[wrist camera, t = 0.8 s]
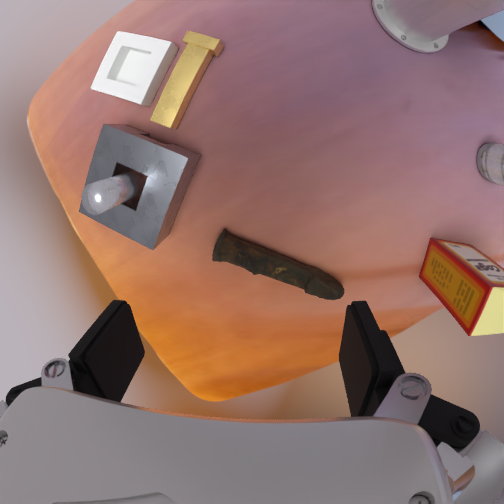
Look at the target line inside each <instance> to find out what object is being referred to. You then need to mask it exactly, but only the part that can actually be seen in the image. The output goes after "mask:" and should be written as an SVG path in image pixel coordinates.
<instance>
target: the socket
mask: <svg viewBox="0 0 504 504" xmlns="http://www.w3.org/2000/svg"><path fill="white" fill-rule="evenodd" d="M148 136H149V133H147V132H144V131H141V130H139V129H136V128H134V127H131V126H128V125H120V124H103V127H102V130H101V133H100V136H99V139H98V142H97V145H96V148H95V151H94V154H93V158H92V161H91V165H90V168H89V172H88V176H87V179H86V183H85V187H86V186H87V185H88V184H91V183H94V182H97V181H100V180H103V179H107V178H110V177H113V176H117V175H120V174H124V173H127V172H131V171H134V170H136V171H138V172H140V173H143V174H145V175H147V176H148V177H147V180H146V183H145V186H144V188H143V191H142V194H140V195H138V196H135V197H133V198H131V199H129V200H127V201H125V202H123V203H121V204H119V205H117V206H115V207H113V208H111V209H109V210H107V211H105V212H103V213H101V214H99V215H92V214H90V213H88V212H87V211H86V210H85V208H84V206H83V204H82V200H81V205H80V209H79V212H81V213H82V214H84V215H86V216H88V217H90V218H92V219H94V220H96V221H97V222H99V223H101V224H103V225H105V226H107V227H109V228H111V229H113V230H114V231H116V232H118V233H120V234H122V235H124V236H126V237H128V238H130V239H132V240H134V241H136V242H138V243H140V244H142V245H144V246H146V247H148V248H150V249H152V250H154V249H155V248H156V247H157V246H158V245H159V244H160V243H161V242H162V241H163V240H164V239H165V238H166V237H167V236H168V235H169V233H170V231H171V228H172V225H173V223H174V220H175V217H176V215H177V212H178V210H179V207H180V205H181V202H182V200H183V197H184V195H185V192H186V190H187V187H188V185H189V183H190V180H191V178H192V176H193V173H194V171H195V169H196V166H197V164H198V162H199V160H200V157H201V155H200V154H197V153H195V152H193V151H190V150H188V149H186V148H183V147H181V146H179V145H176V144H163V143H161V142H158V141H156V140H153V139H151V138H148ZM85 187H84V188H85Z"/></svg>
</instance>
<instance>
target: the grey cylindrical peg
mask: <svg viewBox="0 0 504 504" xmlns="http://www.w3.org/2000/svg"><path fill="white" fill-rule="evenodd" d="M147 177H148V176H147V175H145V174H143V173H140V172H138V171H136V170H134V171H131V172H127V173H124V174H120V175H117V176H113V177H110V178H107V179H103V180H100V181H97V182H94V183H91V184H88V185H87V186H86V187H85V188H84V190H83V192H82V204H83V206H84V208H85V210H86V211H87V212H88V213H90V214H92V215H99V214H101V213H103V212H105V211H107V210H109V209H111V208H113V207H115V206H117V205H119V204H121V203H123V202H125V201H127V200H129V199H131V198H133V197H135V196H138V195H140V194H142V191H143V188H144V186H145V183H146V180H147Z"/></svg>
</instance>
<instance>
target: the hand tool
mask: <svg viewBox="0 0 504 504" xmlns="http://www.w3.org/2000/svg"><path fill="white" fill-rule="evenodd" d="M212 256H213V259H212V260H213V261H219V262H222V261H225V262H229V263H231V264H234V265H237V266H240V267H243V268H245V269H246V270H248V271H250V272H252V273H253V275H257V274H262V275H265V276H268V277H270V278H273V279H276V280H279V281H282V282H284V283H287V284H291V285H294V286H297V287H299V288H301V289H304V290H305V293H308V294H311V295H315V296H318V297H319V298H324V299H327V300H328V299H329V300H336V299H340V298H341V297H342V296H343V294H344V288H343V286H342V285H341V284H340V283H339V282H338V281H337V280H335V279H334V278H333V277H331V276H330V275H328V274H326V273H324V272H322V271H321V270H319V269H318V268H316V267H313V266H311V267H308V266H306V265H303V264H301V263H298V262H296V261H294V260H291V259H289V258H287V257H285V256H282V255H279V254H276V253H274V252H271V251H269V250H267V249H264V248H262V247H260V246H258V245H256V244H251V243H249V242H245V241H243V240H240V239H237V238H235V237H233V236H231V235H230V234H228V233H227V231H226V229H224V230H223V232H222V233H221V235H220V236H219V238H218V240H217V242H216V244H215V247H214V250H213V255H212Z"/></svg>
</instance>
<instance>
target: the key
mask: <svg viewBox="0 0 504 504" xmlns="http://www.w3.org/2000/svg"><path fill="white" fill-rule="evenodd" d="M182 41H183V42H184V43H185V44H186V45H187V46H186V47H185V49H184V51H183V53H182V55H181V57H180V58H179V60H178V62H177V64H176V66H175V68H174V70H173V72H172V74H171V76H170V78H169V80H168V82H167V84H166V86H165V88H164V90H163V92H162V94H161V97H160V99H159V101H158V103H157V105H156V108H155V110H154V112H153V115H152V117H151V119H150V120H151V121H153V122H156V123H159V124H161V125H164V126H166V127H169V128H175V129H177V128H178V126H179V123H180V121H181V119H182V117H183V114H184V112H185V110H186V108H187V106H188V104H189V102H190V100H191V98H192V96H193V94H194V92H195V89H196V88H197V86H198V84H199V82H200V80H201V78H202V76H203V74H204V72H205V70H206V68H207V66H208V65H209V63H210V61H211V59H212V57H213V55H214V56H217V57H219V55H220V53H221V51H222V50H223V48H224V46H223V44H222V43H221V41H220V40H219V39H216V38H213V37H210V36H206V35H203V34H199V33H195V32H192V31H188V32H187V33H186V35H185V37H184V39H183V40H182Z"/></svg>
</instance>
